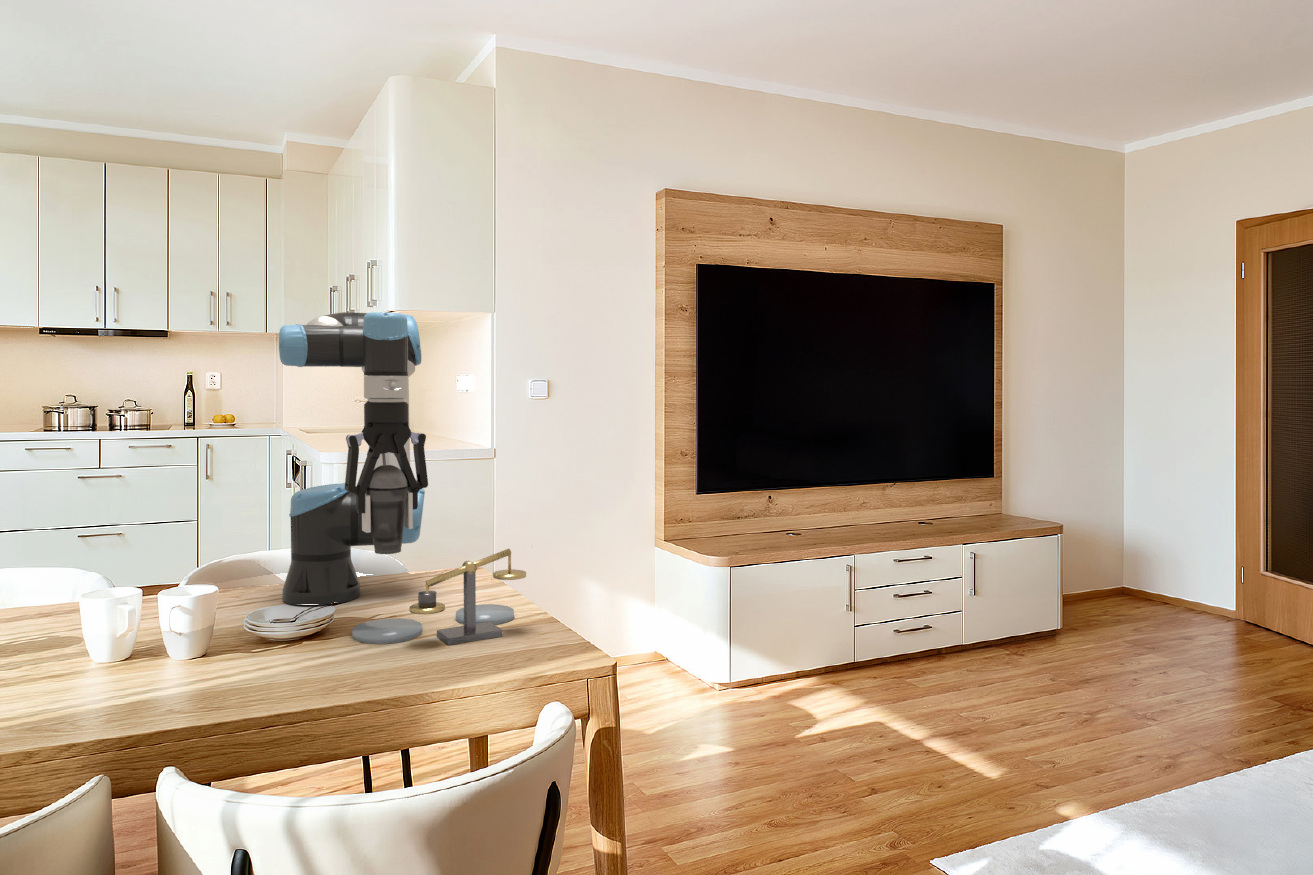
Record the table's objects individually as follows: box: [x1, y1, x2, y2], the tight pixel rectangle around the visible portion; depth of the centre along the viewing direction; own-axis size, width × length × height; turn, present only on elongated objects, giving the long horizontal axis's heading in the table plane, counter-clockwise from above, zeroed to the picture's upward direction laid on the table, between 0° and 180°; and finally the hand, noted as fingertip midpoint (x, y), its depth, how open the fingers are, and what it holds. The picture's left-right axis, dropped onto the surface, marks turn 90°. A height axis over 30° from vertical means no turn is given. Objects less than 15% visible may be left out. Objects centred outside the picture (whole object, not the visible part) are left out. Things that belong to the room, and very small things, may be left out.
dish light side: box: [455, 603, 515, 626], centre depth 170 cm, size 11×11×1 cm
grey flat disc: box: [351, 617, 423, 645], centre depth 159 cm, size 12×12×1 cm
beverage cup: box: [367, 453, 408, 555], centre depth 157 cm, size 7×7×20 cm
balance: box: [409, 548, 527, 646], centre depth 157 cm, size 6×21×15 cm, turn 123°
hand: (387, 529), depth 158 cm, fingers closed on beverage cup, 7 cm apart
